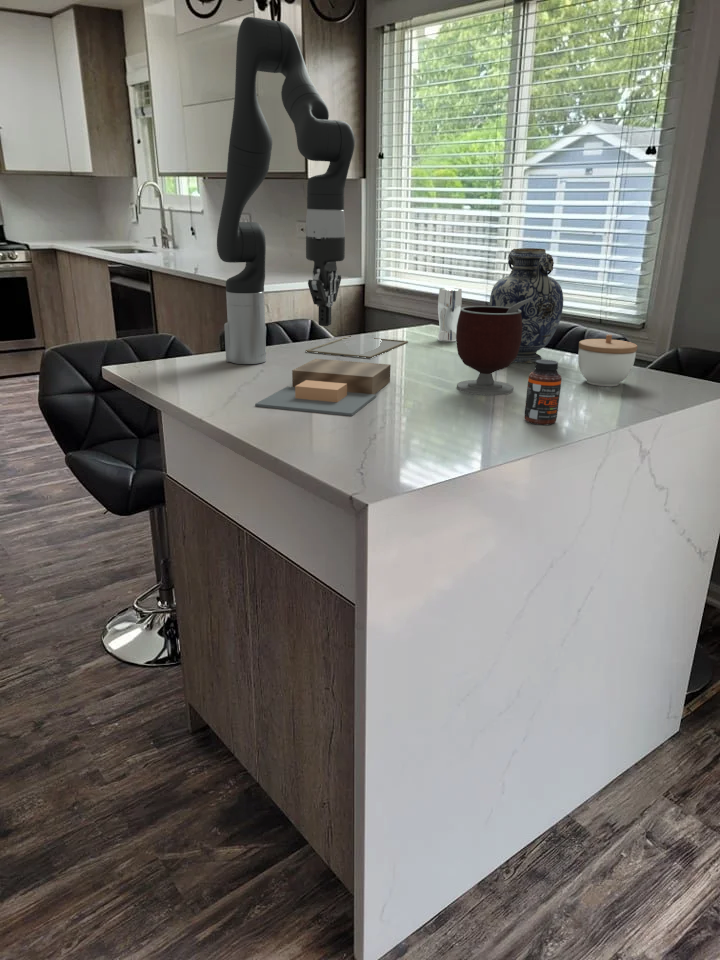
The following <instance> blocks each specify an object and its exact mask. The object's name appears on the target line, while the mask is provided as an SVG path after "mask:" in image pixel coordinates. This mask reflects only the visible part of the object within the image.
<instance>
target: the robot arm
mask: <svg viewBox="0 0 720 960" xmlns="http://www.w3.org/2000/svg"><path fill="white" fill-rule="evenodd" d="M236 40H237V41H236V53H235V54H236V56H235V79H234V80H235V81H234V82H235V83H234V85H235V86H234V99H233V100H234V101H233V110H232V111H233V112H232V119H231V120H232V121H231V126H230V127H231V128H230V135H229V136H230V137H229V144H228V153H227V165H226V177H225V187H224V195H223V199H222V200H223V201H222V206H221V212H220V217H219V222H218V225H217V227H218V228H217V235H216V249H217V254H218V257H219V259H220V260H221V261H222V262H224V263H233V264H234V263H245V266H244V268H243V269H242V270H241V271H240V272H239V273H237V274H235V275H233V276H231V277H229V278H227V279H226V281H225V294H226V295H225V297H226V313H227V315H226V316H227V321H226V322H225V323H224V344H225V361H226V362H229V363H232V364H236V365H237V364H238V365H256V364H263V363H265V362H266V361H267V351H266V349H267V346H266V345H267V343H266V317H265V316H266V313H265V311H266V310H265V309H266V308H265V280H266V255H267V254H266V251H267V250H266V246H267V243H266V234H265V231H264V229H263V228H264V227H263V226H262V225H261V224H260V223H259V222H255V221H251V222H250V221H241V217H242V214H243V211H244V208H245V207H246V205H247V203H248V202H249V200H250V199H251V197H252V196H253V195H254V194H255V192H256V191H257V190H258V189H259V188H260V186H261V185H262V183H263V182H264V180H265V179H266V177H267V175H268V173H269V169H270V163H271V156H272V149H273V137H272V134H271V133H272V132H271V130H270V128H269V124H268V123H267V121H266V118H265V115H264V114H263V110H262V108H261V106H260V102H259V99H258V95H257V87H256V86H257V83H256V82H257V75H258V74H257V73H258V72H263V73H272V74H278V73H280V74H281V75H283V76H284V81H283V83H282V86H281V92H280V93H281V102H282V105H283V108H284V110H285V111H286V113H287V115H288V116H289V118H290V121H292V123H293V127H294V130H295V135H296V145H297V149H298V152H299V154H301V155H302V156H303V157H304V159H307V160H308V161H313V162H328V163H329V165H328V168H327V169H326V172H324V173H323V174H317V175H313V176H311V177H309V178H308V180H307V184H306V185H307V186H306V187H307V188H306V217H305V218H306V220H305V257H306V258H305V259H306V260H307V261H311V262H313V269H312V279H308V280H307V285H308V286H307V287H308V288H309V292H310V296H311V299H312V302H313V305H316V306H317V307H318V325H319V326H320V327H329V326H331V325H332V307H333V305H334V303H335V302H336V301H337V297H338V293H339V289H340V284H341V281H342V276H341V274H339V272H338V267H337V262H342V261H344V260H345V258H346V257H345V256H346V254H345V253H346V252H345V251H346V249H345V248H346V244H345V243H346V218H345V217H346V216H345V186H346V182H347V179H348V173H349V169H350V165H351V162H352V159H353V156H354V150H355V144H356V142H355V133H354V131H353V128H352V126H351V125H350V124H349V123H348V122H346V121H344V120H337V119H329V118H330V112H329V108H328V106H327V104H326V101H325V100H324V98H323V97H322V96H321V94H320V92H319V90H318V89H317V87H316V86H315V84H314V83H313V81H312V78H311V77H310V74H309V71H308V68H307V65H306V61H305V59H304V56H303V54H302V51H301V48H300V45H299V43H298V39H297V38H296V36H295V33H294V31H293V30H292V28H291V27H290V26H289V25H288V24H287V23H285V22H282V21H280V20H272V19H266V18H261V17H253V16H246V17H244V18H243V19H242V21H241V22H240V25H239V28H238V34H237V39H236Z"/></svg>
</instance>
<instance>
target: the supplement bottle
mask: <svg viewBox="0 0 720 960" xmlns="http://www.w3.org/2000/svg"><path fill="white" fill-rule="evenodd" d="M558 365H559V362H558V361H556V360H553V359H541V360H537V361H536V362H535V364H534V370H533V371H531V372H530V373H529V375H528V381H527V387H526V388H527V389H526V398H525V406H524V407H525V408H524V416H523V418H524V420H525V421H526V422H528V423H529V424H530V423H531V424H532V423H533V425H538V426H540V425H541V426H548V425H549V424H550V425H553V424H556V423H557V417H558V412H559V403H560V393H561V387H562V376H561V375H562V374H560V373H559V372H558V368H559V366H558Z"/></svg>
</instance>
